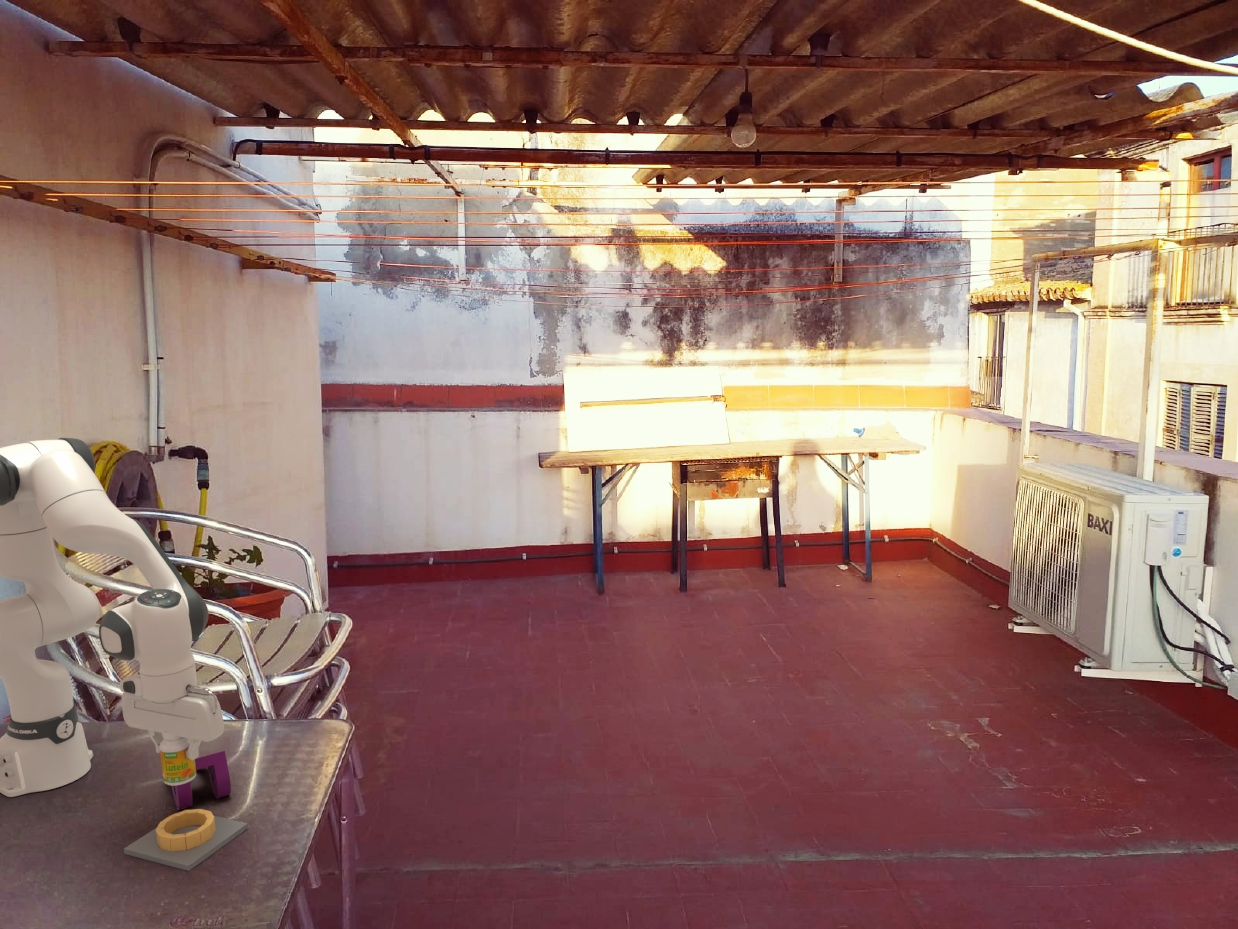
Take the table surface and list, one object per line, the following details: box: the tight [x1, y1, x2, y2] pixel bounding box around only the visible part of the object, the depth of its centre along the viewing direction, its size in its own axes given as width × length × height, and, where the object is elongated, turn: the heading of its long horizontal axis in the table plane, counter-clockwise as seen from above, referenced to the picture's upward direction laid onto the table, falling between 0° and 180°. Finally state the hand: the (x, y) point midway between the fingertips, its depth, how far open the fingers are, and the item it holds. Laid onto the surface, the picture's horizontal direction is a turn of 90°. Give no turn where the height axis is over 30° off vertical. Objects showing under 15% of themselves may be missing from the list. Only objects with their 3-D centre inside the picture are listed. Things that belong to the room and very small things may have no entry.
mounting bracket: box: [170, 750, 232, 811], centre depth 192 cm, size 9×8×18 cm
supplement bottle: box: [159, 732, 197, 786], centre depth 171 cm, size 5×5×10 cm
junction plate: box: [123, 808, 249, 872], centre depth 173 cm, size 15×14×4 cm
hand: (177, 755), depth 171 cm, fingers closed on supplement bottle, 5 cm apart
